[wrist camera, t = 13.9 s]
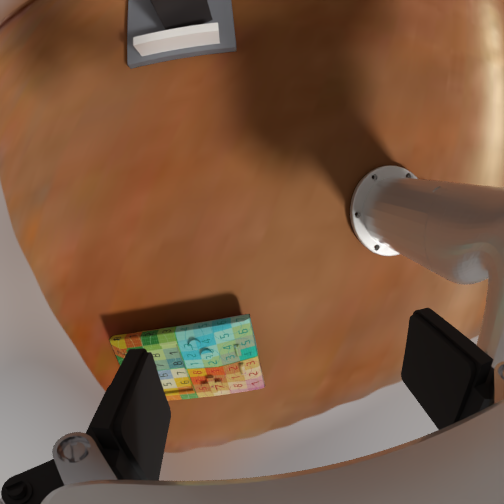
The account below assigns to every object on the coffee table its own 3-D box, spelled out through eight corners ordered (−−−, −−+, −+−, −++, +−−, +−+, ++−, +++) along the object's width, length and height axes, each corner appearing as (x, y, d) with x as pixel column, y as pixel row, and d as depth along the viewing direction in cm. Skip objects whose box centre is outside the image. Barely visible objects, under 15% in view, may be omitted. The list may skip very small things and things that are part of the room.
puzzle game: (265, 390, 41) (136, 406, 41) (262, 372, 45) (142, 388, 45) (250, 321, 38) (106, 343, 38) (248, 305, 42) (117, 327, 42)
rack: (226, -33, 29) (226, -54, 24) (236, 51, 33) (237, 34, 28) (132, -17, 29) (122, -35, 24) (130, 68, 33) (117, 55, 28)
